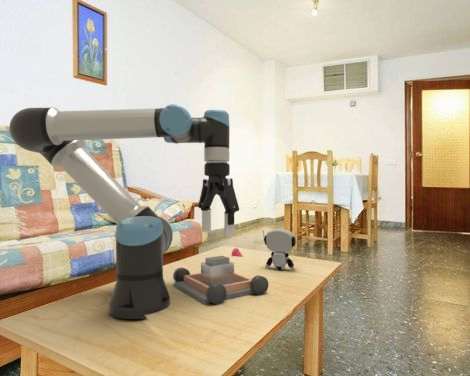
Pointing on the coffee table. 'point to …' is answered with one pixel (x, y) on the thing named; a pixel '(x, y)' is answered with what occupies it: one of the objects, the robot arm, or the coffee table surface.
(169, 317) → the coffee table surface
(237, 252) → the toy pieces
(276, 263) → the robot toy
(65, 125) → the robot arm
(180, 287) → the chassis
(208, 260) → the block
